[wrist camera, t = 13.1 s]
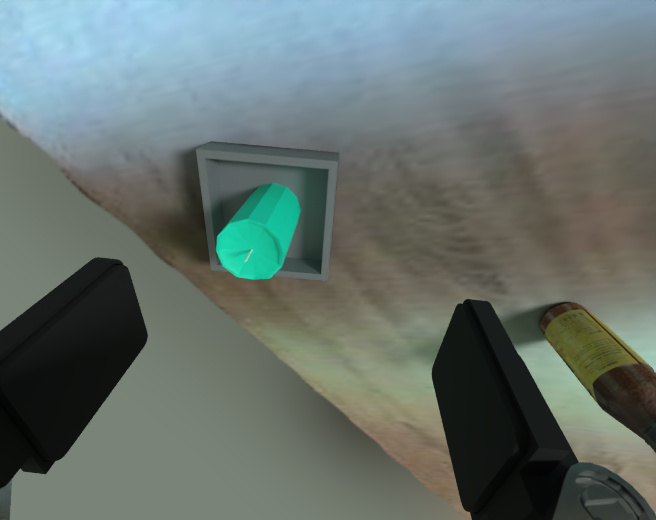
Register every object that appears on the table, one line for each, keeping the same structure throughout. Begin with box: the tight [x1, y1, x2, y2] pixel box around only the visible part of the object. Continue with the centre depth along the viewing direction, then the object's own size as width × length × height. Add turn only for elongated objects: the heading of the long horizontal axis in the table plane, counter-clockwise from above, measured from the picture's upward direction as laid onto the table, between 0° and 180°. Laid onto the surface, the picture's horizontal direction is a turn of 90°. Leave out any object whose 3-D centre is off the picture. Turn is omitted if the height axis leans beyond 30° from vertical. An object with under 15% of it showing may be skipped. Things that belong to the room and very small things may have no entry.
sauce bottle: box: [540, 303, 656, 452], centre depth 35 cm, size 6×6×20 cm
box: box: [196, 142, 339, 281], centre depth 36 cm, size 14×14×4 cm
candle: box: [216, 183, 301, 279], centre depth 32 cm, size 6×6×12 cm
